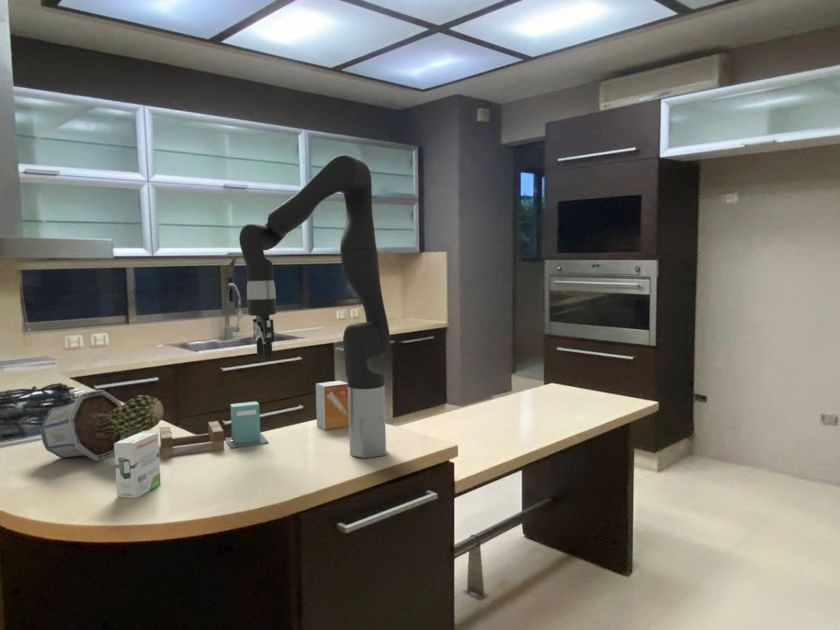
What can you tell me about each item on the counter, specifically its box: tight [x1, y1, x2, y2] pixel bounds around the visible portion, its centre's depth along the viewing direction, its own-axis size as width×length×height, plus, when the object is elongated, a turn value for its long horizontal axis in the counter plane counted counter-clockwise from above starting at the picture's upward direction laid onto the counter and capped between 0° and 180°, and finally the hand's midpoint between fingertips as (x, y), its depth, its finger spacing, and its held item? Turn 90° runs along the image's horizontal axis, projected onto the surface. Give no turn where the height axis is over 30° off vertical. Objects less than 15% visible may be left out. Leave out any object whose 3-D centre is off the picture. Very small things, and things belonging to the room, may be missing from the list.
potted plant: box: [40, 389, 165, 462], centre depth 156 cm, size 18×18×30 cm
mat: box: [224, 433, 269, 449], centre depth 169 cm, size 10×10×1 cm
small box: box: [315, 380, 349, 431], centre depth 183 cm, size 8×6×13 cm
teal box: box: [230, 401, 261, 444], centre depth 169 cm, size 4×7×10 cm, turn 115°
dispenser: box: [159, 420, 225, 459], centre depth 164 cm, size 12×15×5 cm
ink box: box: [114, 432, 161, 499], centre depth 132 cm, size 9×5×12 cm, turn 169°
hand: (264, 356), depth 169 cm, fingers open, 8 cm apart
